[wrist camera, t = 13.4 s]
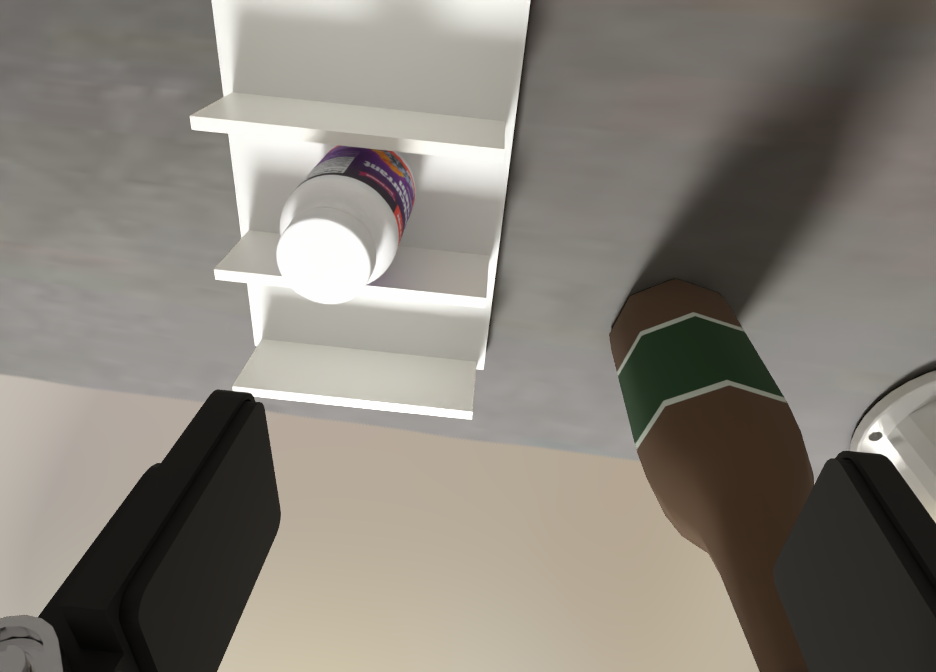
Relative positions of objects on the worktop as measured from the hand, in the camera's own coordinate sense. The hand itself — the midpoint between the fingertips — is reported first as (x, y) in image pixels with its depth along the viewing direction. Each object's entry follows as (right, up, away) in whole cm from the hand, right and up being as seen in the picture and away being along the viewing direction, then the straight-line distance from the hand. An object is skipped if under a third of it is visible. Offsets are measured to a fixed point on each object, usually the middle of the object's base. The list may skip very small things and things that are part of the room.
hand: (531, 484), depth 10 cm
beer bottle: (+12, +3, +29) cm, 31 cm away
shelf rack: (-6, +12, +24) cm, 28 cm away
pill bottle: (-7, +11, +23) cm, 26 cm away
